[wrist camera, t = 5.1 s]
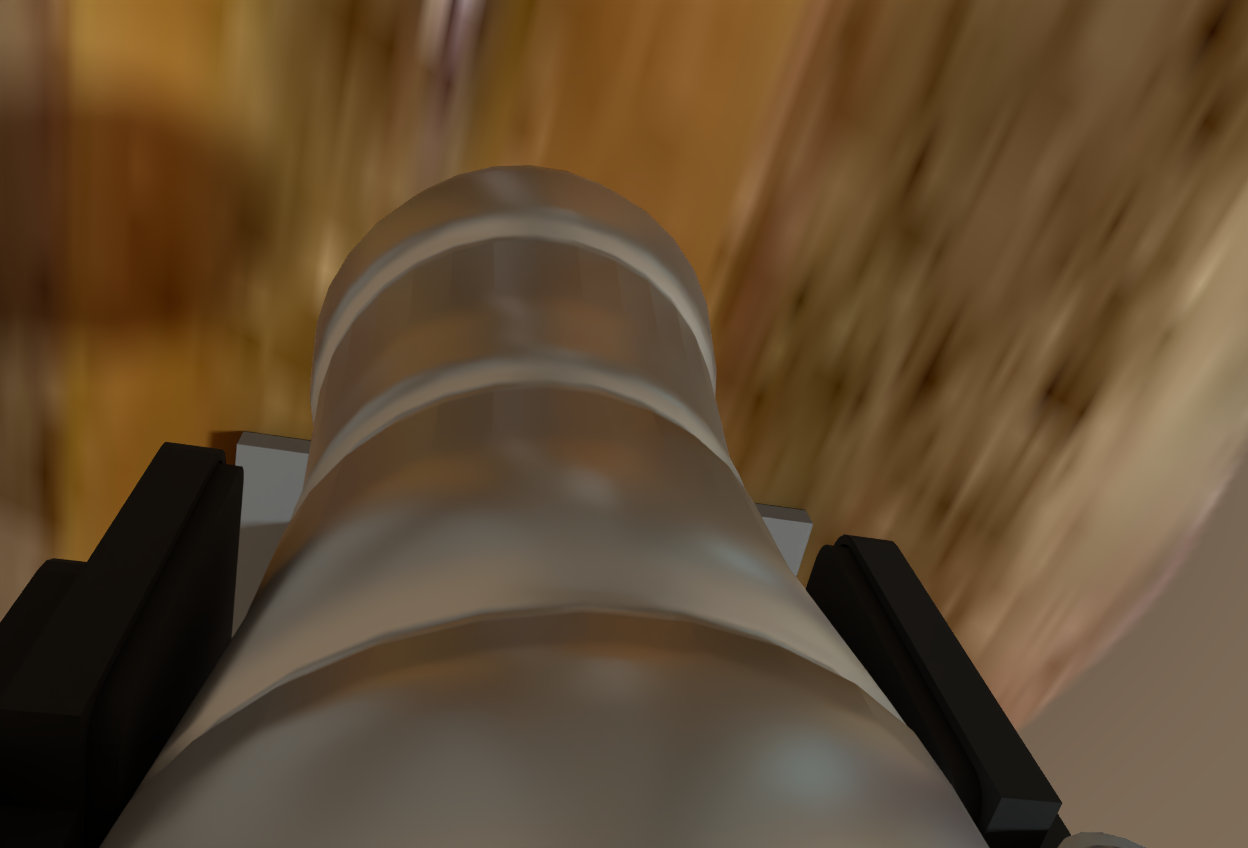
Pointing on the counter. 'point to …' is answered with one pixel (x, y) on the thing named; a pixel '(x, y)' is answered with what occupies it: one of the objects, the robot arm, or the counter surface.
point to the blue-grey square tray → (280, 481)
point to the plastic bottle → (531, 577)
